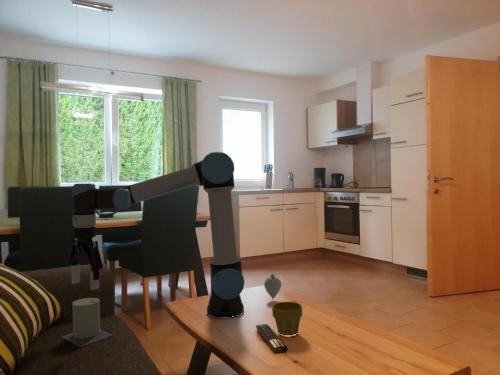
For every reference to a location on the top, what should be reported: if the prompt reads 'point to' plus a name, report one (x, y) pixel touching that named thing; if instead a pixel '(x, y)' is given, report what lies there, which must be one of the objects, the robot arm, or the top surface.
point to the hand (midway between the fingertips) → (85, 286)
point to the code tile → (86, 340)
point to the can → (86, 318)
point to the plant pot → (287, 317)
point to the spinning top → (272, 285)
